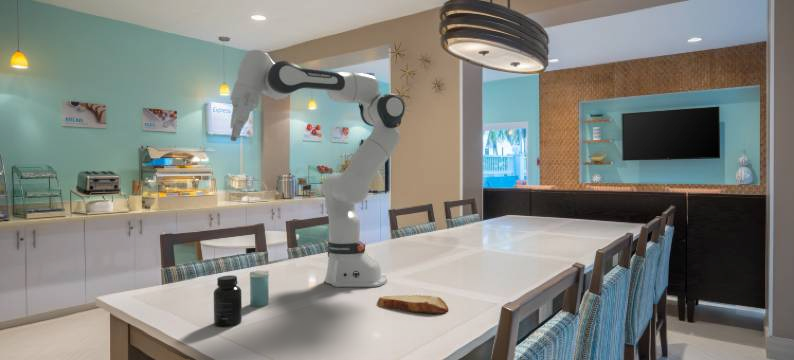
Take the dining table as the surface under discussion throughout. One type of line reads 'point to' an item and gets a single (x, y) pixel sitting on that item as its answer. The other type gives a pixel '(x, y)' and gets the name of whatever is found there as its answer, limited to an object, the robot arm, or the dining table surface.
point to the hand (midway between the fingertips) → (234, 138)
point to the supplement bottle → (227, 302)
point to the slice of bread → (414, 303)
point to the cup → (259, 288)
